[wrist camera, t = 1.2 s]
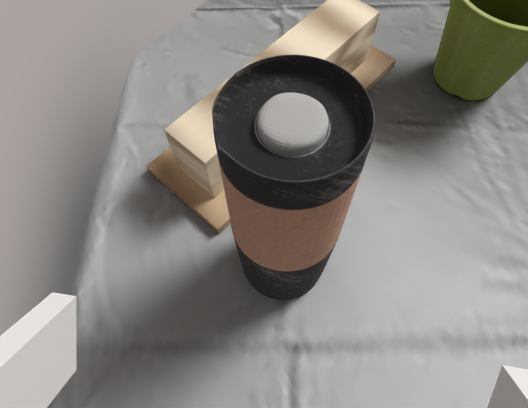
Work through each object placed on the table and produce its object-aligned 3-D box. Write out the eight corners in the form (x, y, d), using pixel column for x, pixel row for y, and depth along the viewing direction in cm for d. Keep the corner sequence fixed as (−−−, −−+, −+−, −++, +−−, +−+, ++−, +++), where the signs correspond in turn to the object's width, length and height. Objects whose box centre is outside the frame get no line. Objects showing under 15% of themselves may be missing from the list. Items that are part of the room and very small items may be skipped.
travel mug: (341, 249, 37) (408, 93, 19) (296, 321, 34) (324, 219, 16) (270, 207, 39) (270, 30, 21) (222, 271, 36) (173, 131, 18)
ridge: (325, 26, 50) (332, -29, 44) (393, 66, 47) (412, 12, 40) (149, 171, 41) (126, 128, 34) (219, 233, 37) (208, 197, 31)
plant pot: (474, 138, 42) (539, 51, 32) (390, 71, 46) (423, -23, 36) (544, 83, 45) (622, -11, 35) (459, 26, 49) (506, -73, 39)
